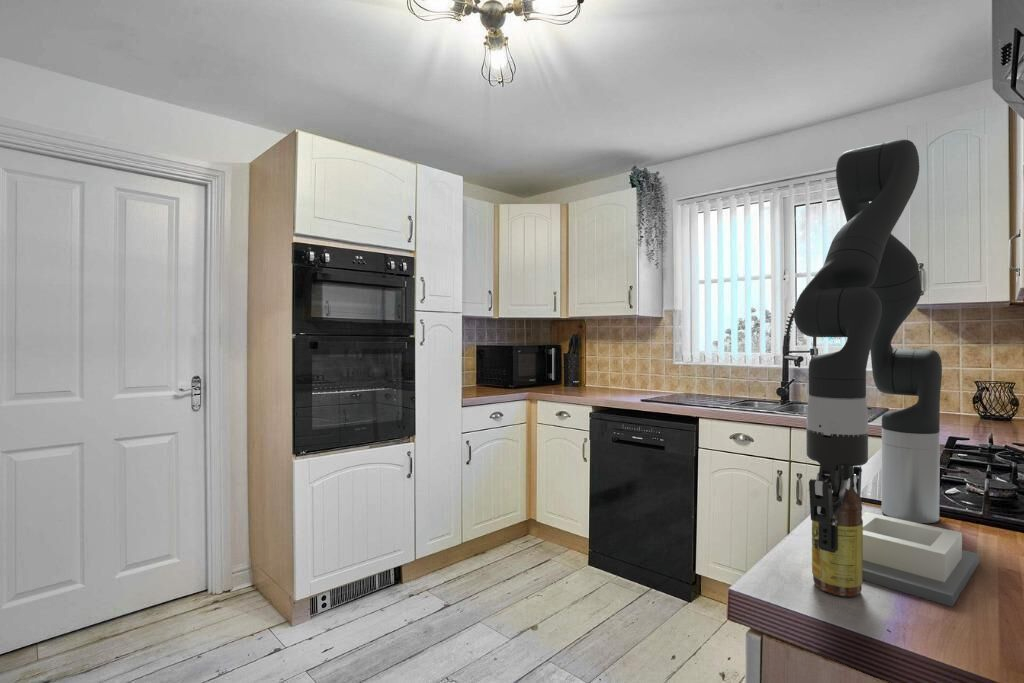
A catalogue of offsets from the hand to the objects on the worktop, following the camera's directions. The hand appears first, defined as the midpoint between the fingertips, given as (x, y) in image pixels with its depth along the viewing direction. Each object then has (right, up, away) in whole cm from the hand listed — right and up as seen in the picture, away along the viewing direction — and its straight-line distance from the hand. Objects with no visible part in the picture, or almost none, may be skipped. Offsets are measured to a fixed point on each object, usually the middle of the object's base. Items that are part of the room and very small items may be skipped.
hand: (836, 543), depth 77 cm
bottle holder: (+15, -6, +8) cm, 18 cm away
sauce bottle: (0, -7, 0) cm, 7 cm away
